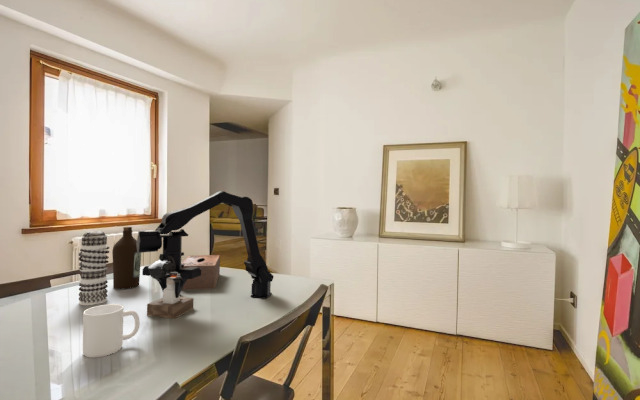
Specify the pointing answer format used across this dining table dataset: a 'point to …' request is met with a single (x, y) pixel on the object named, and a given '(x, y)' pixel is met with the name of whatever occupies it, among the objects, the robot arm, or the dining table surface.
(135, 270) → the olive oil
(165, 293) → the salt shaker
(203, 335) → the dining table surface
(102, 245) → the decorative candle
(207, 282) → the tissue box cover
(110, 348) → the cup
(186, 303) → the socket block
